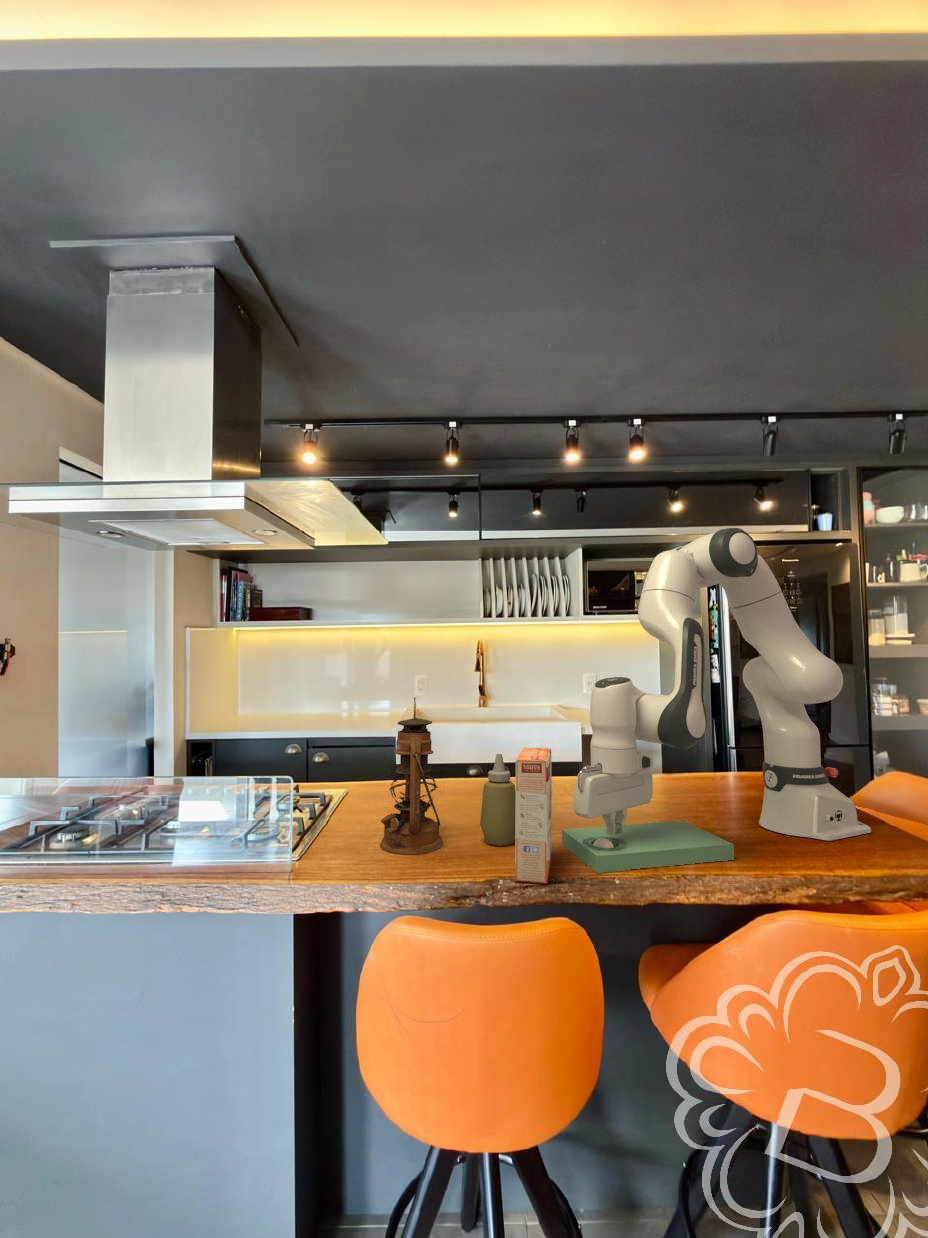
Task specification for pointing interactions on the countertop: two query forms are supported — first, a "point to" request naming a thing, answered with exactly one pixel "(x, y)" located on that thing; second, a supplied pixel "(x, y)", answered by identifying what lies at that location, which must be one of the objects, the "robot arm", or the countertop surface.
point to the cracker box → (533, 815)
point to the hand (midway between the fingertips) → (614, 833)
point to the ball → (603, 843)
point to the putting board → (647, 846)
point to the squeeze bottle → (498, 806)
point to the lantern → (412, 794)
